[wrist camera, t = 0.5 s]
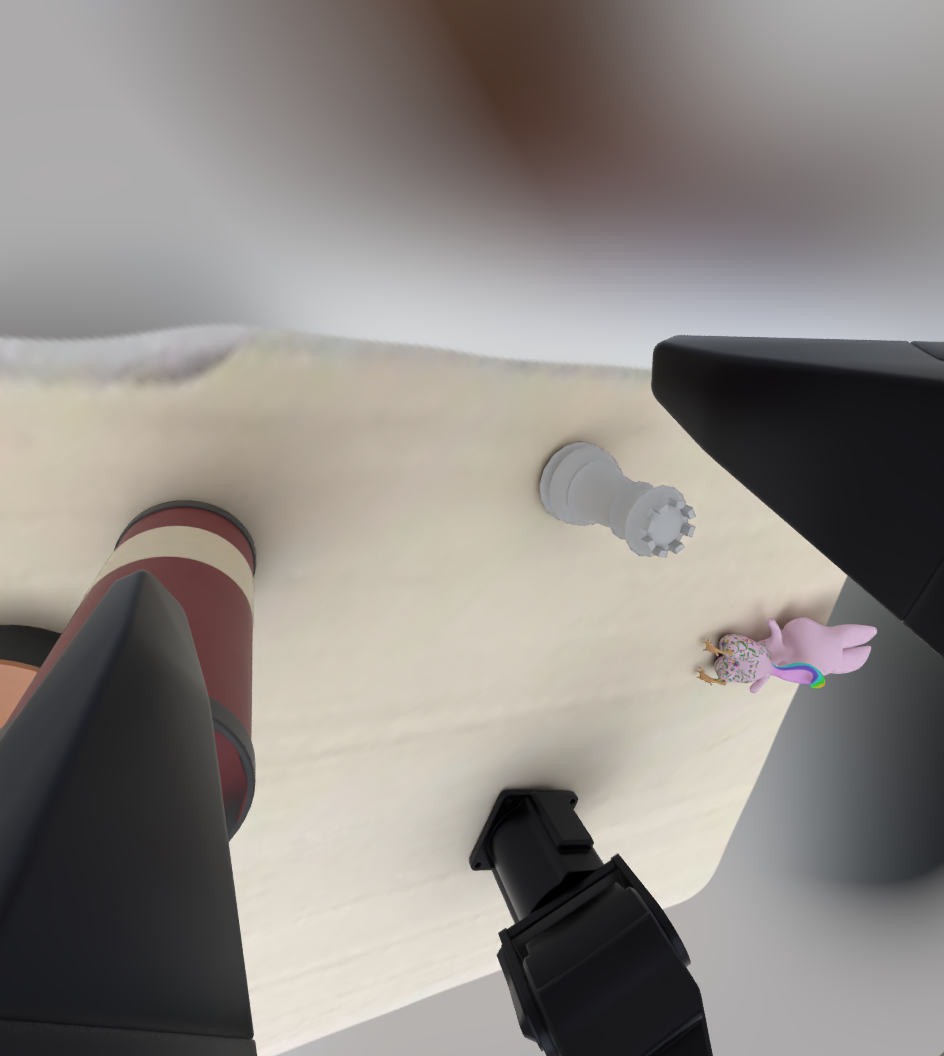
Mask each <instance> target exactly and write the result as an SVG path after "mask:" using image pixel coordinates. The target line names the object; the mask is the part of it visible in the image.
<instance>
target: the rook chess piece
mask: <svg viewBox="0 0 944 1056" xmlns="http://www.w3.org/2000/svg"><path fill="white" fill-rule="evenodd" d="M540 494H541V501H542V503H543V505H544V507H545V508H546V510H547V512H548V513H549V514H551V515H552V516H554V517H555V518H557V519H558V520H562V521H564V522H565V523H567V524H572V525H580V526H586V525H589V524H591V525H593V524H597V523H598V524H601V525H604V526H607V527H610V528H611V530H612V532H613V534H615V535H616V536H617V537H619V538H620V539H626V541H627V543H628V545H629V547H630V550H632V551H633V552H635V553H636V554H638V555H639V556H647V557H651V556H654V555H656V556H658V557H667V554H668V550H670V551H672V552H673V553H675V554H677V553H678V552H680V551H681V550H682V549H683V548H685V547H684V545H683V544H682V543H681V542H679V541H680V539H681V538H682V536H683V535H684V534H685V535H687V536H689V537H691V538H692V536H693V533H694V530H695V526H693V525H690V524H688V518H689V519H692V518H694V517H696V515H695V512H694V510H693V508H692V507H690V506H688V505H686V502H685V500H684V497H683V494H681V493H680V492H679V491H678V490H677V489H675V488H674V487H669V486H659V487H656V488H654V487H653V486H652V485H651V484H649V483H646V482H640V481H639V482H636V483H635V482H633V481H631V480H630V479H628V478H627V477H625V476H624V475H623V473H622V471H621V469H620V468H619V466H618V463H617V461H616V460H615V459H614V458H613V457H612V456H611V455H610V454H609V453H607V452H606V451H605V450H604V449H601V448H598V447H597V446H596V445H594V444H590V443H585V442H578V443H574V444H570V445H566V446H565V447H564V448H562V449H561V450H560V451H558V452H557V453H555V454H554V455H553V456H552V458H551V459H550V461H549V462H548V464H547V465H546V467H545V468H544V471H543V474H542V478H541V482H540Z"/></svg>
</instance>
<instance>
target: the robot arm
mask: <svg viewBox="0 0 944 1056" xmlns="http://www.w3.org/2000/svg"><path fill="white" fill-rule="evenodd" d="M651 388H652V392H653V395H654V396H655V398H656V399H657V401H658V402H659V403H660V404H661V405H662V406H663V407H664V408H665V409H666V410H667V411H668V412H669V414H670V415H671V416H672V417H673V418H674V419H675V420H676V421H677V422H678V423H679V424H680V425H681V426H682V428H683V429H684V430H685V431H686V432H687V433H688V434H689V435H690V436H691V437H692V438H693V439H694V440H695V442H696V443H697V444H698V445H699V446H700V447H701V448H702V449H703V450H704V451H705V452H706V453H707V454H708V455H709V456H711V457H712V458H713V459H714V460H715V461H716V462H717V463H718V464H720V465H721V466H722V467H723V468H724V469H725V470H727V471H728V472H729V473H730V474H731V475H732V476H733V477H735V478H736V479H737V480H738V481H739V482H740V483H742V484H743V485H744V486H745V487H746V488H747V489H749V490H750V491H751V492H752V493H753V494H754V495H755V496H757V497H758V498H759V499H760V500H761V501H762V502H764V503H765V504H766V505H767V506H768V507H769V508H770V509H772V510H773V511H774V512H775V513H776V514H777V515H779V516H780V517H781V518H782V519H783V520H784V521H785V522H787V523H788V524H789V525H790V526H791V527H792V528H794V529H795V530H796V531H797V532H798V533H799V534H801V535H802V536H803V537H804V538H805V539H806V540H807V541H809V542H810V543H811V544H812V545H813V546H814V547H816V548H817V549H818V550H819V551H820V552H821V553H822V554H824V555H825V556H826V557H827V558H828V559H829V560H831V561H832V562H833V563H834V564H835V565H836V566H838V567H839V568H840V569H841V570H842V571H843V572H844V573H846V574H847V575H848V576H849V577H850V578H851V579H853V580H854V581H855V582H856V583H857V584H858V585H859V586H861V587H862V588H863V589H864V590H865V591H867V592H868V593H869V594H870V595H871V596H872V597H873V598H875V599H876V600H877V601H878V602H879V603H880V604H882V605H883V606H884V607H885V608H886V609H887V610H889V611H890V612H891V613H892V614H893V615H894V616H895V617H897V618H898V619H899V620H901V621H903V624H904V625H905V626H906V627H907V628H909V629H910V630H911V631H912V632H913V633H914V634H915V635H917V636H918V637H919V638H920V639H921V640H922V641H924V642H925V643H926V644H927V645H928V646H929V647H930V648H932V649H933V650H934V651H935V652H936V653H937V654H939V655H940V656H941V657H942V658H943V659H944V342H924V341H923V342H922V341H913V342H911V343H909V342H907V341H882V340H844V339H804V338H767V337H727V336H690V335H689V336H688V335H687V336H686V335H678V336H673V337H671V338H669V339H667V340H664V341H662V342H660V343H658V344H657V346H655V349H654V352H653V362H652V381H651ZM577 802H578V797H577V796H576V794H575V793H574V792H570V791H531V790H506V791H504V792H502V793H501V795H500V796H499V798H498V801H497V803H496V805H495V807H494V809H493V811H492V813H491V816H490V818H489V820H488V822H487V824H486V826H485V829H484V831H483V833H482V835H481V837H480V839H479V841H478V844H477V846H476V848H475V850H474V852H473V854H472V856H471V859H470V861H469V863H470V866H471V868H472V870H474V871H478V870H492V872H493V874H494V877H495V879H496V881H497V883H498V886H499V888H500V890H501V893H502V895H503V897H504V900H505V902H506V904H507V907H508V909H509V911H510V913H511V916H512V918H513V920H514V923H515V924H514V925H513V926H511V927H510V928H508V929H506V928H505V929H503V930H502V931H500V932H499V933H498V934H499V937H500V939H501V942H502V945H501V946H502V947H501V949H500V950H499V952H498V954H497V957H498V960H499V962H500V965H501V968H502V970H503V973H504V975H505V978H506V981H507V984H508V987H509V990H510V993H511V997H512V1001H513V1004H514V1008H515V1011H516V1015H517V1018H518V1022H519V1025H520V1028H521V1030H522V1033H523V1035H524V1037H525V1038H528V1039H530V1040H532V1041H534V1042H536V1043H538V1046H539V1048H540V1049H541V1051H543V1050H544V1051H545V1054H546V1056H713V1054H712V1049H711V1044H710V1040H709V1034H708V1029H707V1023H706V1018H705V1013H704V1007H703V1003H702V997H701V993H700V989H699V987H698V986H697V984H696V982H695V981H694V979H693V977H692V976H691V974H690V972H689V971H688V969H687V968H686V967H687V966H688V965H689V964H691V962H690V958H689V955H688V953H687V951H686V949H685V947H684V945H683V943H682V941H681V939H680V937H679V935H678V934H677V932H676V930H675V929H674V927H673V926H672V924H671V922H670V921H669V919H668V917H667V916H666V914H665V913H664V911H663V910H662V908H661V907H660V906H659V904H658V903H657V902H656V900H655V899H654V898H653V896H652V895H651V894H650V893H649V891H648V890H647V889H646V888H645V886H644V885H643V884H642V883H641V881H640V880H639V879H638V878H637V876H636V875H635V874H634V873H633V872H632V870H631V869H630V868H629V867H628V865H627V864H626V863H625V862H624V860H623V859H622V858H621V857H620V855H619V854H616V855H615V856H613V857H612V858H611V860H610V861H609V862H607V863H606V864H603V862H602V860H601V859H600V857H599V856H598V854H597V853H596V851H595V850H594V848H593V847H592V846H593V844H594V841H593V839H592V837H591V836H590V834H589V833H588V831H587V830H586V828H585V827H584V825H583V823H582V822H581V820H580V819H579V817H578V816H577V814H576V813H575V811H574V808H575V806H576V804H577ZM253 1036H254V1032H253V1024H252V1016H251V1009H250V1001H249V994H248V986H247V978H246V971H245V963H244V956H243V948H242V941H241V933H240V925H239V918H238V910H237V903H236V895H235V887H234V880H233V872H232V865H231V857H230V850H229V842H228V834H227V827H226V819H225V812H224V804H223V796H222V789H221V781H220V774H219V766H218V759H217V751H216V743H215V736H214V728H213V721H212V713H211V707H210V701H209V697H208V692H207V688H206V684H205V681H204V677H203V674H202V670H201V666H200V663H199V659H198V656H197V652H196V649H195V645H194V641H193V638H192V634H191V631H190V627H189V623H188V620H187V616H186V614H185V611H184V609H183V608H182V606H181V605H180V603H179V602H178V601H177V600H176V599H175V598H174V597H173V595H172V594H171V593H170V592H169V591H168V590H167V589H166V588H165V587H164V586H163V585H162V584H161V583H160V582H159V580H158V579H157V578H156V577H155V576H154V575H153V574H152V573H150V572H149V571H147V570H139V571H136V572H134V573H132V574H129V575H127V576H125V577H122V578H120V579H118V580H116V581H115V582H114V583H113V584H112V585H111V587H110V588H109V589H108V591H107V592H106V593H105V595H104V596H103V598H102V599H101V600H100V602H99V603H98V605H97V606H96V607H95V609H94V610H93V611H92V613H91V614H90V616H89V617H88V618H87V620H86V621H85V622H84V624H83V625H82V627H81V628H80V629H79V631H78V632H77V634H76V635H75V636H74V638H73V639H72V640H71V642H70V643H69V645H68V646H67V647H66V649H65V650H64V651H63V653H62V654H61V656H60V657H59V658H58V660H57V661H56V663H55V664H54V665H53V667H52V668H51V669H50V671H49V672H48V674H47V675H46V676H45V678H44V679H43V680H42V682H41V683H40V685H39V686H38V687H37V689H36V690H35V692H34V693H33V694H32V696H31V697H30V698H29V700H28V701H27V703H26V704H25V705H24V707H23V708H22V709H21V711H20V712H19V714H18V715H17V716H16V718H15V719H14V721H13V722H12V723H11V725H10V726H9V727H8V729H7V730H6V732H5V733H4V734H3V736H2V737H1V738H0V1056H257V1051H256V1043H255V1040H253V1039H252V1038H253ZM940 1056H944V1052H943V1053H942V1054H941V1055H940Z"/></svg>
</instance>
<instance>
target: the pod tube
mask: <svg viewBox="0 0 944 1056" xmlns="http://www.w3.org/2000/svg"><path fill="white" fill-rule="evenodd" d="M255 567H256V555H255V548H254V544H253V541H252V539H251V537H250V535H249V533H248V531H247V530H246V529H245V527H244V526H243V525H242V524H241V523H240V522H239V521H238V520H237V519H236V518H235V517H234V516H232V515H231V514H230V513H228V512H226V511H224V510H223V509H221V508H218V507H216V506H213V505H210V504H207V503H203V502H197V501H173V502H167V503H163V504H160V505H157V506H154V507H152V508H150V509H148V510H146V511H144V512H142V513H141V514H140V515H138V516H137V517H136V518H134V519H133V520H132V521H131V522H130V523H129V524H128V526H127V527H126V528H125V530H124V531H123V533H122V534H121V536H120V538H119V540H118V541H117V543H116V546H115V549H114V552H113V553H112V555H111V556H110V557H109V559H108V560H107V561H106V563H105V565H104V566H103V568H102V569H101V571H100V572H99V574H98V576H97V577H96V579H95V580H94V582H93V583H92V585H91V587H90V588H89V590H88V591H87V593H86V594H85V596H84V598H83V600H82V602H81V604H80V606H79V607H78V609H77V611H76V612H75V614H74V615H73V617H72V619H71V620H70V622H69V623H68V625H67V626H66V628H65V630H64V631H63V633H62V634H61V636H60V638H59V639H58V641H57V642H56V644H55V645H54V647H53V649H52V650H51V652H50V653H49V655H48V657H47V658H46V660H45V661H44V663H43V664H42V666H41V668H40V669H39V671H38V672H37V674H36V675H35V677H34V679H33V680H32V682H31V683H30V685H29V687H28V688H27V690H26V691H25V693H24V694H23V696H22V698H21V699H20V701H19V702H18V704H17V706H16V707H15V709H14V710H13V712H12V713H11V715H10V717H9V718H8V720H7V721H6V723H5V725H4V726H3V727H2V728H1V729H0V738H1V737H2V736H3V734H4V733H5V732H6V730H7V729H8V727H9V726H10V725H11V723H12V722H13V721H14V719H15V718H16V716H17V715H18V714H19V712H20V711H21V709H22V708H23V707H24V705H25V704H26V703H27V701H28V700H29V698H30V697H31V696H32V694H33V693H34V692H35V690H36V689H37V687H38V686H39V685H40V683H41V682H42V680H43V679H44V678H45V676H46V675H47V674H48V672H49V671H50V669H51V668H52V667H53V665H54V664H55V663H56V661H57V660H58V658H59V657H60V656H61V654H62V653H63V651H64V650H65V649H66V647H67V646H68V645H69V643H70V642H71V640H72V639H73V638H74V636H75V635H76V634H77V632H78V631H79V629H80V628H81V627H82V625H83V624H84V622H85V621H86V620H87V618H88V617H89V616H90V614H91V613H92V611H93V610H94V609H95V607H96V606H97V605H98V603H99V602H100V600H101V599H102V598H103V596H104V595H105V593H106V592H107V591H108V589H109V588H110V587H111V585H112V584H113V583H114V582H115V581H116V580H118V579H120V578H122V577H125V576H127V575H129V574H132V573H134V572H136V571H139V570H147V571H149V572H150V573H152V574H153V575H154V576H155V577H156V578H157V579H158V580H159V582H160V583H161V584H162V585H163V586H164V587H165V588H166V589H167V590H168V591H169V592H170V593H171V594H172V595H173V597H174V598H175V599H176V600H177V601H178V602H179V603H180V605H181V606H182V608H183V609H184V611H185V614H186V616H187V620H188V623H189V627H190V631H191V634H192V638H193V641H194V645H195V649H196V652H197V656H198V659H199V663H200V666H201V670H202V674H203V677H204V681H205V684H206V688H207V692H208V697H209V701H210V707H211V713H212V721H213V728H214V736H215V743H216V751H217V759H218V766H219V774H220V781H221V789H222V796H223V804H224V812H225V819H226V827H227V834H228V842H229V841H230V840H231V839H232V837H233V836H234V835H235V834H236V832H237V831H238V830H239V828H240V826H241V825H242V823H243V821H244V820H245V818H246V816H247V814H248V811H249V809H250V807H251V804H252V800H253V796H254V791H255V753H254V749H253V745H252V742H251V718H252V634H253V622H254V582H253V578H254V574H255Z"/></svg>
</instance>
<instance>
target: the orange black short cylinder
mask: <svg viewBox="0 0 944 1056" xmlns="http://www.w3.org/2000/svg"><path fill="white" fill-rule="evenodd" d="M60 636H61V635H60V634H58V633H55V632H51V631H48V630H44V629H40V628H34V627H28V626H16V625H0V729H1V728H2V727H3V726H4V725H5V723H6V721H7V720H8V718H9V717H10V715H11V713H12V712H13V710H14V709H15V707H16V706H17V704H18V702H19V701H20V699H21V698H22V696H23V694H24V693H25V691H26V690H27V688H28V687H29V685H30V683H31V682H32V680H33V679H34V677H35V675H36V674H37V672H38V671H39V669H40V668H41V666H42V664H43V663H44V661H45V660H46V658H47V657H48V655H49V653H50V652H51V650H52V649H53V647H54V645H55V644H56V642H57V641H58V639H59V638H60Z"/></svg>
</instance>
